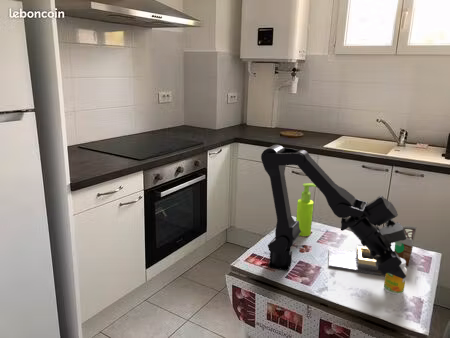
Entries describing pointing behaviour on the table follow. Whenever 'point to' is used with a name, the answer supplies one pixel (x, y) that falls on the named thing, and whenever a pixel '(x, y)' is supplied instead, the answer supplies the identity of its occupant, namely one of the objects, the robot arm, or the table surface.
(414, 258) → the table surface
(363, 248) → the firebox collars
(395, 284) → the supplement bottle
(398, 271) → the robot arm
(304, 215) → the soap dispenser
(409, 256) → the food container
